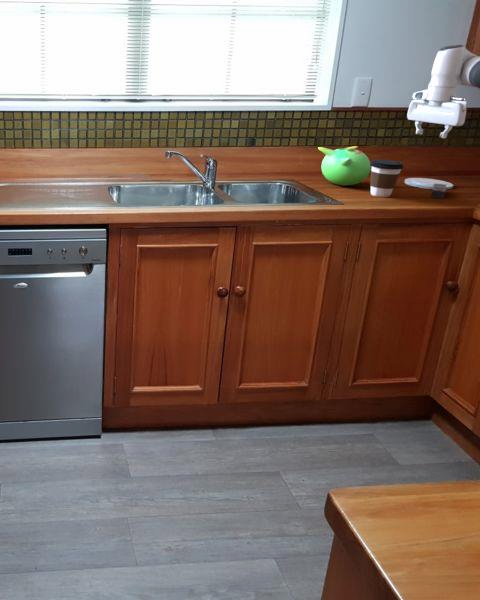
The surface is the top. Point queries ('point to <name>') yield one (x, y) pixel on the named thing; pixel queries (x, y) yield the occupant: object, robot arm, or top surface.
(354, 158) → the toy bird
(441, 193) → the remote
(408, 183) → the plate
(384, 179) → the coffee cup
